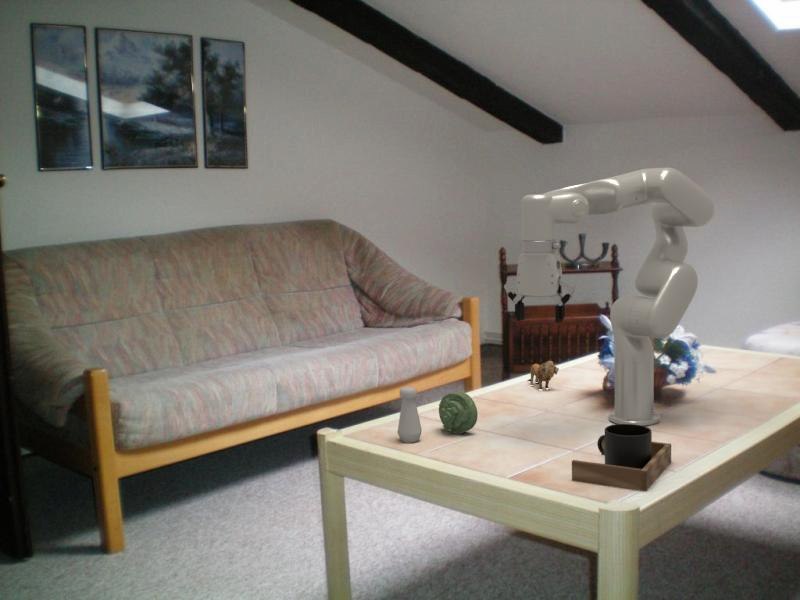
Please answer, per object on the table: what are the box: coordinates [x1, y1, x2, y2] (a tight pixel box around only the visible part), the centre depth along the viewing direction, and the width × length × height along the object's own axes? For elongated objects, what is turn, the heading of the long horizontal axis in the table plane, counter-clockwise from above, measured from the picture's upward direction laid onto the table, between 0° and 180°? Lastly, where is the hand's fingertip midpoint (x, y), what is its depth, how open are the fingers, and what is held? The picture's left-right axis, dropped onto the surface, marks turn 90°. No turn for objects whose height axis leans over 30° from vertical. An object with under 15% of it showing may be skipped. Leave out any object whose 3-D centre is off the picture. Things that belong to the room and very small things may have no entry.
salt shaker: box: [397, 386, 423, 444], centre depth 208 cm, size 6×6×13 cm
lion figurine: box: [527, 360, 560, 390], centre depth 258 cm, size 15×5×9 cm, turn 23°
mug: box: [597, 423, 653, 469], centre depth 181 cm, size 9×12×9 cm
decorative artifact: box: [438, 391, 478, 435], centre depth 212 cm, size 10×7×10 cm
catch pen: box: [571, 439, 672, 492], centre depth 181 cm, size 20×15×4 cm
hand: (539, 321), depth 203 cm, fingers open, 9 cm apart
